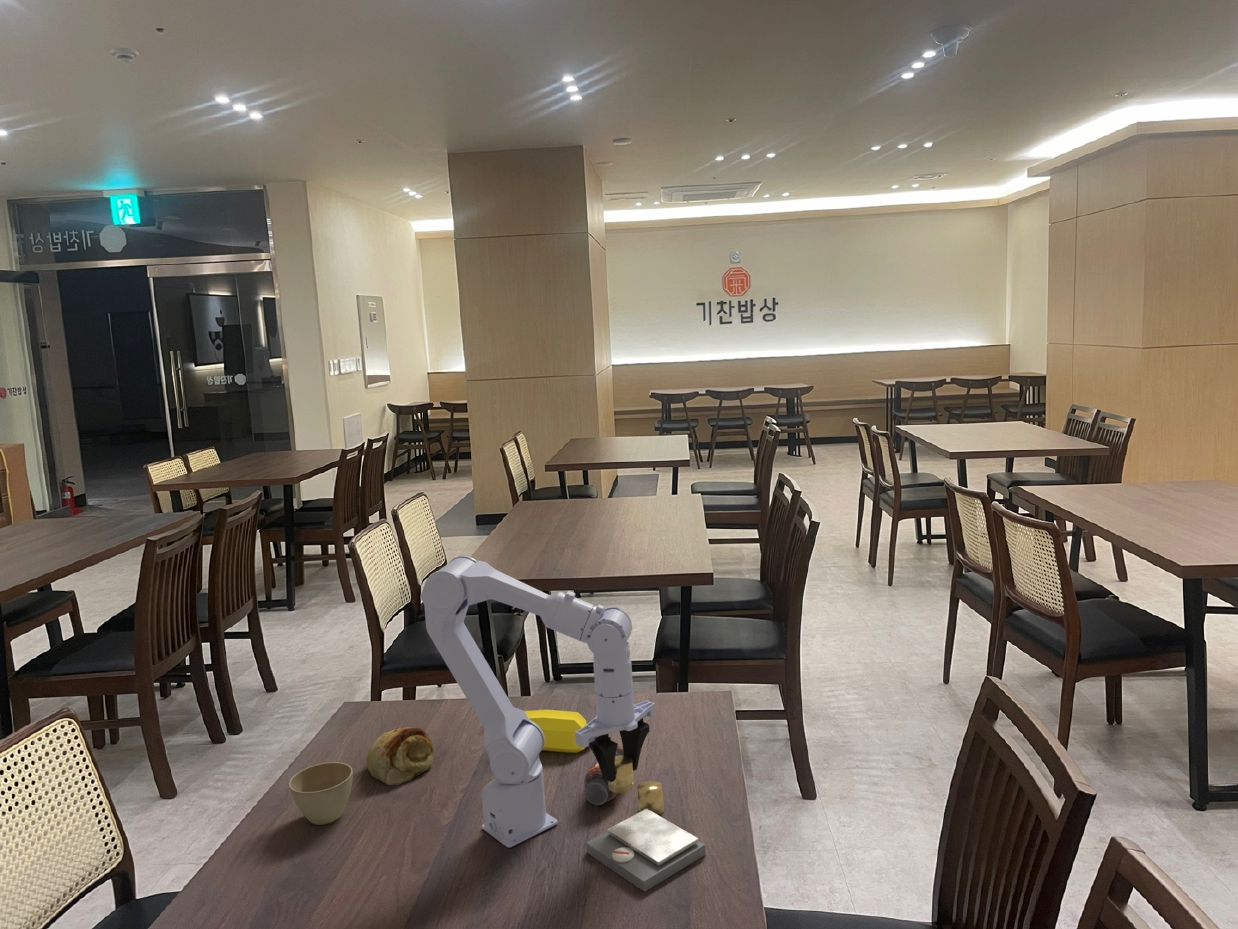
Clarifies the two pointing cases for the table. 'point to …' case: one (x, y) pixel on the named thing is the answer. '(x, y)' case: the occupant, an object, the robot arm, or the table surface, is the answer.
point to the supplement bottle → (598, 784)
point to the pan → (652, 836)
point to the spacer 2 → (651, 797)
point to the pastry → (400, 755)
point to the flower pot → (322, 791)
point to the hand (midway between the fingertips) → (620, 773)
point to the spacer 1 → (622, 775)
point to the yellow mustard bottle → (558, 729)
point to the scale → (639, 861)
